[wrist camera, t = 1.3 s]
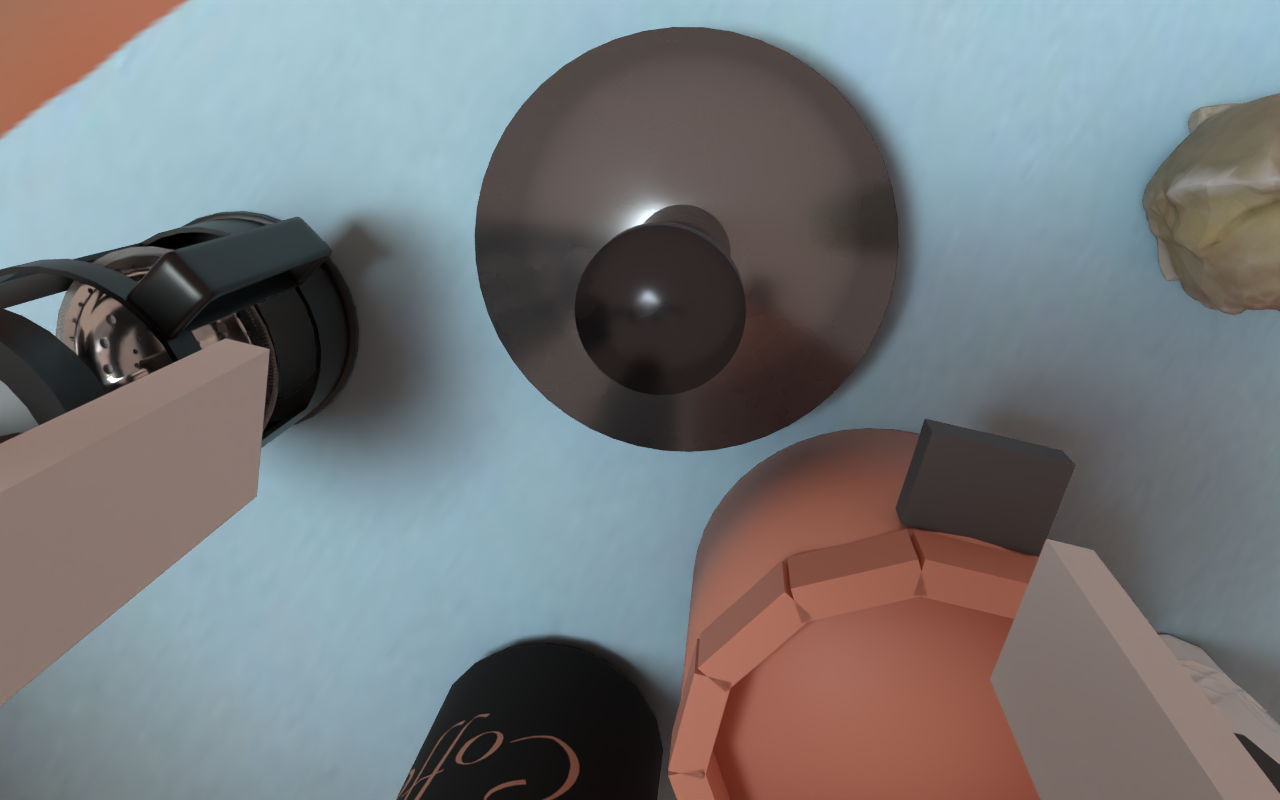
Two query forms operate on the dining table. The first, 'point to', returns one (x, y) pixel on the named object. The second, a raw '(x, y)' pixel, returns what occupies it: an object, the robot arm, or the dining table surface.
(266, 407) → the french press
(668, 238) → the lid
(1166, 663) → the robot arm
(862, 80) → the dining table surface
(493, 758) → the coffee jar
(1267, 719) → the white cup
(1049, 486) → the pot
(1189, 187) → the garlic bulb
